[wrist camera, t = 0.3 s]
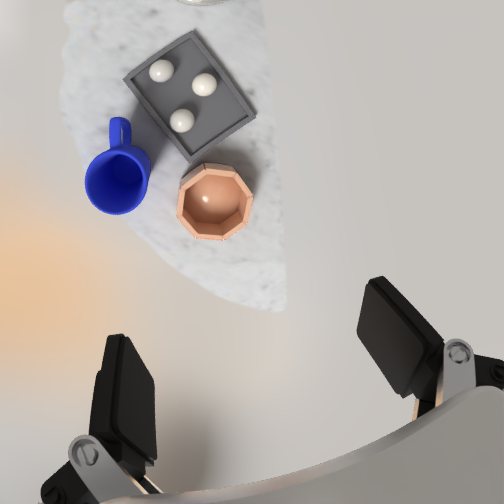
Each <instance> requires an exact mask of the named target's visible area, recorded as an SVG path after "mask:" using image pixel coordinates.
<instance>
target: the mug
mask: <svg viewBox="0 0 504 504" xmlns="http://www.w3.org/2000/svg"><path fill="white" fill-rule="evenodd" d="M121 126H122V130H123V143H122V144H121ZM109 139H110V149H109V150H107V151H105V152H103V153H101V154H100V155H98V156H97V157H96V158H95V159H94V160H93V161H92V162H91V164H90V165H89V167H88V169H87V172H86V176H85V189H86V193H87V195H88V198H89V199H90V201H91V202H92V204H93V205H95V207H97V208H98V209H99V210H101V211H102V212H105V213H108V214H113V215H120V214H125V213H128V212H130V211H132V210H133V209H135V208H136V207H137V206H138V205H139V204H140V203H141V201H142V200H143V198H144V196H145V194H146V191H147V186H148V181H149V177H150V172H151V164H150V160H149V158H148V156H147V154H146V153H145V152H144V151H143V150H142V149H140V148H138V147H135V146H131V145H130V143H131V124H130V122H129V121H128V120H127V119H125V118H122V117H114V118H111V119H110V126H109Z"/></svg>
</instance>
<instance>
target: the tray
mask: <svg viewBox="0 0 504 504" xmlns="http://www.w3.org/2000/svg"><path fill="white" fill-rule="evenodd" d="M158 60H168V61H170V62H171V63H172V64H173V67H174V73H173V75H172V77H171V78H170V79H169V80H167V81H165V82H155V81H153V80H152V79H151V77H150V75H149V69H150V67H151V65H152V64H153V63H154V62H156V61H158ZM203 73H207V74H211V75H212V76H214V78H215V79H216V81H217V87H216V90H215V91H214V92H213V93H212V94H211V95H209V96H199V95H197V94H196V93H195V92H194V91H193V89H192V82H193V80H194V78H195V77H196V76H198V75H199V74H203ZM123 81H124V82H125V83H126V84H127V86H128V87H129V88H130V89H131V91H132V92H133V93H134V94H135V96H136V97H137V98H138V99H139V101H140V102H141V103H142V104H143V106H144V107H145V108H146V109H147V111H148V112H149V113H150V115H151V116H152V117H153V118H154V120H155V121H156V122H157V123H158V125H159V126H160V127H161V128H162V130H163V131H164V132H165V133H166V135H167V136H168V137H169V138H170V140H171V141H172V142H173V143H174V145H175V146H176V147H177V149H178V150H179V151H180V152H181V154H182V155H183V156H184V157H185V159H186V160H187V161H188V162H189V164H190V163H192V162H193V161H194V160H196V159H197V158H198V157H200V156H201V155H202V154H204V153H205V152H206V151H208V150H209V149H211V148H212V147H213V146H215V145H216V144H218V143H219V142H221V141H222V140H223V139H225V138H226V137H228V136H229V135H231V134H232V133H234V132H235V131H237V130H238V129H240V128H241V127H243V126H244V125H246V124H247V123H249V122H250V121H252V120H253V119H255V118H256V116H255V115H254V113H253V112H252V110H251V109H250V108H249V106H248V105H247V103H246V102H245V100H244V99H243V97H242V96H241V95H240V93H239V92H238V90H237V89H236V88H235V86H234V85H233V83H232V82H231V81H230V79H229V78H228V77H227V75H226V74H225V72H224V71H223V70H222V68H221V67H220V66H219V64H218V63H217V62H216V61H215V59H214V58H213V57H212V55H211V54H210V53H209V51H208V50H207V49H206V48H205V46H204V45H203V44H202V43H201V41H200V40H199V39H198V38H197V36H196V35H195V34H194V33H193V31H191V32H189V33H188V34H186V35H184V36H183V37H181V38H179V39H178V40H176V41H175V42H173V43H172V44H170V45H168V46H167V47H165V48H164V49H162V50H161V51H160V52H158V53H157V54H155V55H154V56H152V57H151V58H150V59H148V60H147V61H145V62H144V63H143V64H141V65H140V66H139V67H137V68H136V69H135V70H134V71H132V72H131V73H130V74H128V75H127V76H126V77H125V78H124V79H123ZM179 109H187V110H189V111H190V112H192V114H193V116H194V125H193V126H192V128H191V129H190V130H188V131H187V132H183V133H180V132H176V131H174V130H173V129H172V128H171V126H170V117H171V115H172V114H173V113H174V112H175V111H176V110H179Z"/></svg>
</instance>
